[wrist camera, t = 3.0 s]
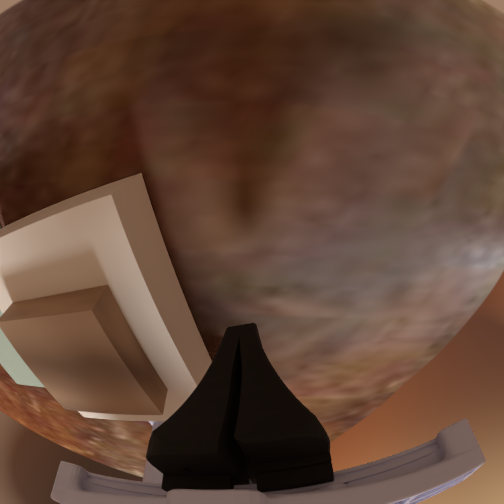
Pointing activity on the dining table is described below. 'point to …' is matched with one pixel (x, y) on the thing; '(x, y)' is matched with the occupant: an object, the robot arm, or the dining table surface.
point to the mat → (15, 363)
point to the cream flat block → (110, 276)
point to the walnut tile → (85, 352)
